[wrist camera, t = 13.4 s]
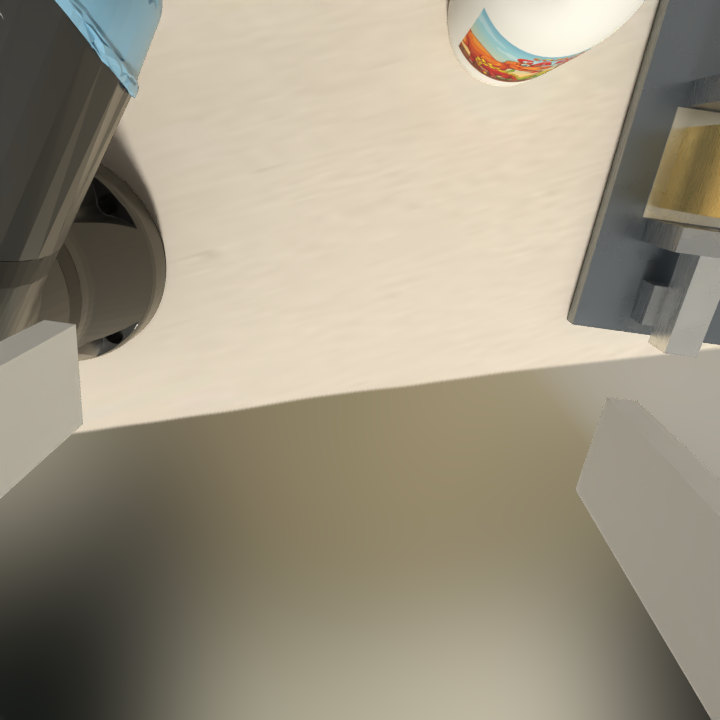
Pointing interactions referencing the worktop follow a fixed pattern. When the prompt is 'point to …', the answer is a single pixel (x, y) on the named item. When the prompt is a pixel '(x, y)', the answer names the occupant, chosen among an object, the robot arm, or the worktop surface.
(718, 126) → the yellow block
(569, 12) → the milk bottle
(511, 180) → the worktop surface
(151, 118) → the worktop surface
